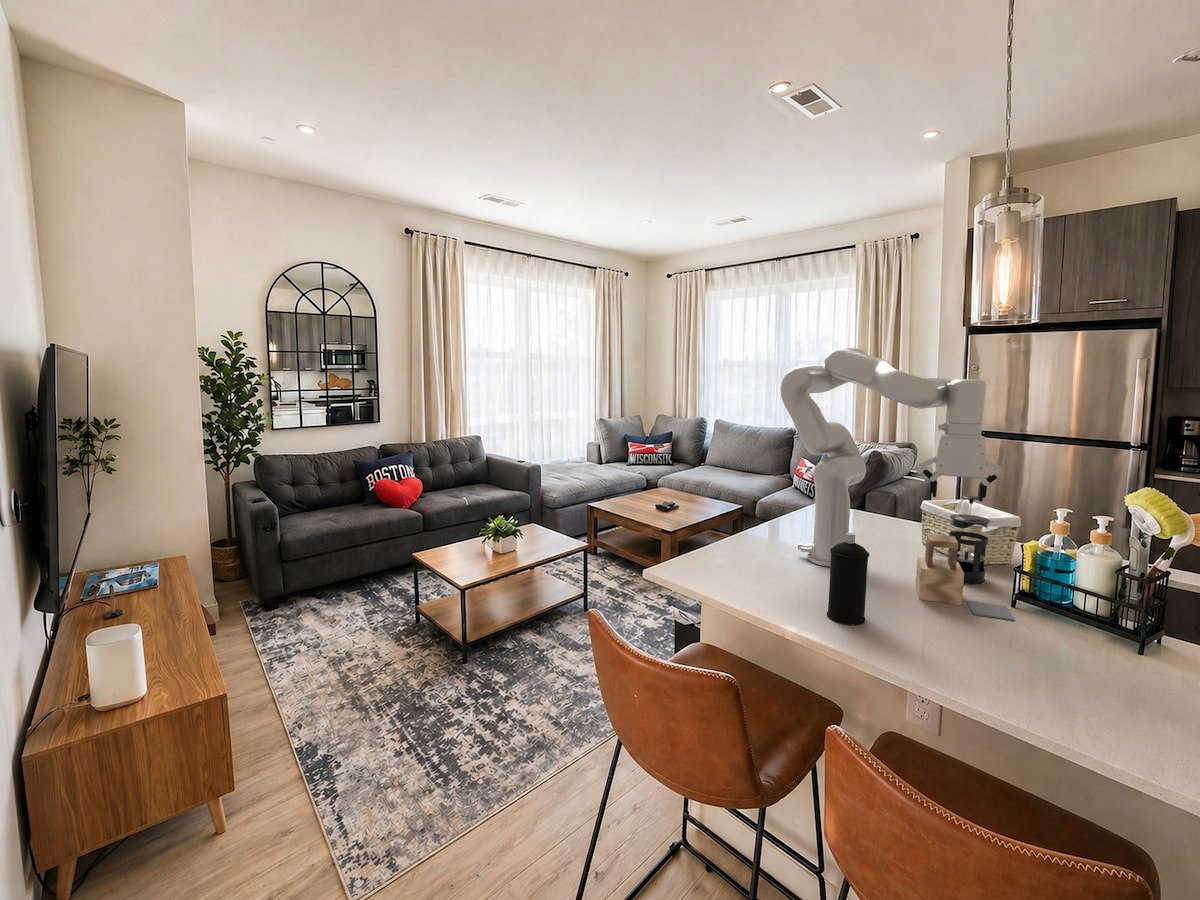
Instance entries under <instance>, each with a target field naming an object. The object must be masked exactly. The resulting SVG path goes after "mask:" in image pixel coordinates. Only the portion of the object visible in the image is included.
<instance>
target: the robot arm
mask: <svg viewBox="0 0 1200 900" xmlns="http://www.w3.org/2000/svg"><path fill="white" fill-rule="evenodd" d="M823 361H824V362H823V364H820V365H819V364H817V365H815V364H812V365H811V364H810V365H809V364H807V365H806V364H805V365H804V364H803V365H797V366H795V367H793V368H791V369H790V370H788V371H787V372H786V374H785V375H784V376H783V378H782V382H781V385H780V397H781V400H782V403H783V406H784V408H785V409H786V411H787V412H788V414H789V416H790V418H791V420H792V422H793V424H794V427H795V429H796V431H797V434H798V435H799V438H800V440H801V441H802V444H803V447H804V448H805V449H806V451H808V453H809V454H811V455H814V456H822V455H823V456H824V455H827V457H825V458H823V459H822V460H821V459H820V461H818V463H817V464H816V465H815V467H814V469H813V484H814V493H815V498H814V499H815V501H814V502H815V503H814V504H815V505H814V523H813V524H814V526H813V541H812V543H808V544H806V543H805V544H804V543H799V542H798V543H797V550H800V552H802V553H806V552H807V557H806V558H807V560H808V561H809V562H811V563H813V564H815V565H817V566H818V565H819V566H822V567H826V568H827V567H829V568H830V565H831V552H830V549H831V548H833V547H834V546H835V545H836V544H839V543H842V542H845V541H846V533H850V519H851V518H850V517H851V515H850V514H851V499H850V494H849V490H848V489H849V488H848V486H849V487H850V486H853V485H856V484H859V483H860V482H862V481H863V480H864V479H865V476H866V474H867V466H866V462H865V460H864V457H863V456H862V454H861V452H860V450H859V448H858V445H857V444H856V442H855V440H854V438H853V436H852V434H851V433H850V430H849V429H848V428H847V427H845V426H844V425H843V424H841V423H839V422H836V421H831V422H830V421H829V422H828V420H826V418H825V416H824V414H823V412H822V411H821V408H820V407H819V405H818V404H817V402H815V400H813V398H812V397H811V395H810V394H822V393H823V394H824V393H826V392H829V391H832V390H834V389H836V388H838V387H840V386H843V385H844V384H847V383H852V384H854V385H858V386H859V387H863V388H865V389H869V390H871V391H873V392H874V393H876V394H878V395H880V396H882V397H884V398H885V399H888V400H891V401H893V402H897V403H899V404H903V405H904V406H907V407H911V408H915V409H920V410H921V409H933V408H934V409H935V408H942V407H946V411H945V412H946V414H945V415H946V416H945V422H943V423H942V424H939V423H938V427H937V429H938V431H940V430H941V431H943V432H944V433H943V434H941V435H940V438H939V440H938V445H937V446H938V447H937V451H936V456H933V457H931V458H927V459H925V460H922V461H920V462H919V463H918V465H919V467H920V469H921V472H922V473H923V474H924V476H925V477H926V478H927V479H928V480H929V481H930V482H929V494H931V496H932V498H936V497H937V490H938V479H939V478H940V477H941V476H945V477H958V478H959V477H960V478H971V479H978V480H979V481H980V483H978V489H977V490H978V491H977V497H978V500H977V501H978V502H981V503H982V502H983V500H984V499H986V497H987V490H988V488H987V487H988V486H989V485H990V484H992V483H993V482H994V481H995V480H997V479H998V477H999V476H1000V475H1001V474H1002V472H1003V470H1004V469H1003V468H1002V467H1001V466H1000V465H997V464H995V463H993V462H991V461H990V460H988V459H987V442H986V436H983V435H982V430H983V420H984V419H983V417H984V410H985V400H986V399H985V398H986V387H987V385H986V382H985V381H984V380H982V379H976V378H973V379H972V378H960V379H959V378H958V379H956V378H955V379H951V378H950V379H949V378H943V377H922V376H921V377H920V376H917V375H913V374H911V373H907V372H905V371H902V370H899V369H896V368H894V367H892V366H891V363H890V362H889V361H888V360H886V359H883V358H879V357H876V356H872V355H871V354H870V355H869V354H867V353H866V352H865V351H864V350H863V349H860V348H857V347H837V348H834V349H832V350H830V351H829V352H828V353H827V354H826V356H825V357H824V360H823ZM932 464H935V471H934V472H933V473H932V472H930V470H929V469H928V468H927V466H930V465H932ZM986 467H987V468H989V469H990V470H993V472H992V473H991V474H989V475H988V476H986V477H985V473H986Z"/></svg>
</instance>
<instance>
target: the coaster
mask: <svg viewBox="0 0 1200 900" xmlns="http://www.w3.org/2000/svg"><path fill="white" fill-rule="evenodd" d="M966 604H967V606H968V608H969V610H970V612H971V614H972V615H973V616H979V617H985V618H986V617H987V618H991V619H998V618H999V619H1000V620H1005V619H1006V621H1014V622H1015V621H1016V620H1015V618H1014V616H1013V614H1012V613H1011V611H1010V609H1009V608H1008V606H1007V605H1003V604H997V603H990V602H982V601H976V600H968V599H966ZM992 617H993V618H992Z"/></svg>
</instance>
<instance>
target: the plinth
mask: <svg viewBox="0 0 1200 900" xmlns="http://www.w3.org/2000/svg"><path fill="white" fill-rule="evenodd" d="M963 582H964V572H963V571H962V569H961V567H960V565H959V563H958V562H957V564H956V571H953V570H951V569H950V567H949V565H948V560H944V559H943V560H942V559H934V558H933V564H932V568H928V567H927V564H926V562H925V557H919V556H917V560H916V576H915V591H916V594H917V597H918V600H922V601H929V602H935V603H936V602H937V603H941V604H942V603H943V604H950V605H957V606H962V602H963V592H964V583H963Z"/></svg>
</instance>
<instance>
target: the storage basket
mask: <svg viewBox="0 0 1200 900" xmlns="http://www.w3.org/2000/svg"><path fill="white" fill-rule="evenodd" d="M920 509H921V543H922V544H923V545H925V546H926V540H927V534H935V535H945V536H949V533H950V532H951V530H958V531H964V532H968V528H958V527H955V526H953V525H952V519H951V518H950V516H951V515H955V514H965V515H969V512H970V503H969V499H942V500H941V499H938V500H935V499H934V500H927V499H926V500H923V501H922V502H921V505H920ZM971 515H974V516H979V517H983V518H986V519H989V520H990V523H988V525H987V528H985V527H984V526H982V525H978V524H976V525H972V526H970V530H969V532H972V533H977V534H981V535H984V536H986V537H987V538H988V544H987V545H986V551H985V562H984V566H985V565H989V564H993V565H1008V564H1010V563H1012V561H1013V555H1014V552H1015V547H1016V545H1017V544H1016V543H1017V542H1016V541H1017V537H1018V534H1019V530H1020V527H1021V526H1022V519H1021V517H1020V516H1018V515H1017V516H1016V515H1015V514H1011V513H1009V512H1005V511H1003V510H1000V509H995V508H993V507H989V506H986V505H984V504H981V503H978V502H975V501H973V504H972V508H971ZM961 539H965V540H967V536H961ZM969 540H972V541H981V539H978V538H973V537H969ZM966 546H967V545H965V544H961V545H960V551H966ZM948 550H949V548H942V547H934V551H937V552H938V553H942V554H944V555H946V556H947V557H948ZM968 552H972V553H974V546H973V545H968Z"/></svg>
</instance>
